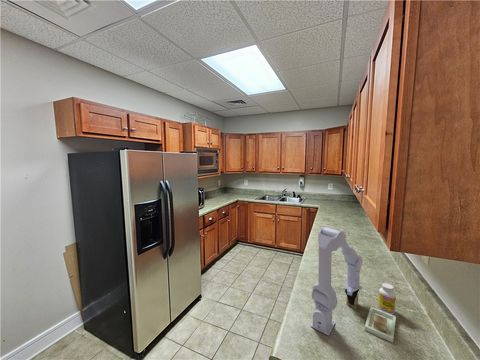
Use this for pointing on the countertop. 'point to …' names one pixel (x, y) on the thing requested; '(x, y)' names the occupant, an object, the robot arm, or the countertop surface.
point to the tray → (390, 324)
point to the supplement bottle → (387, 298)
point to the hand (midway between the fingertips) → (352, 301)
